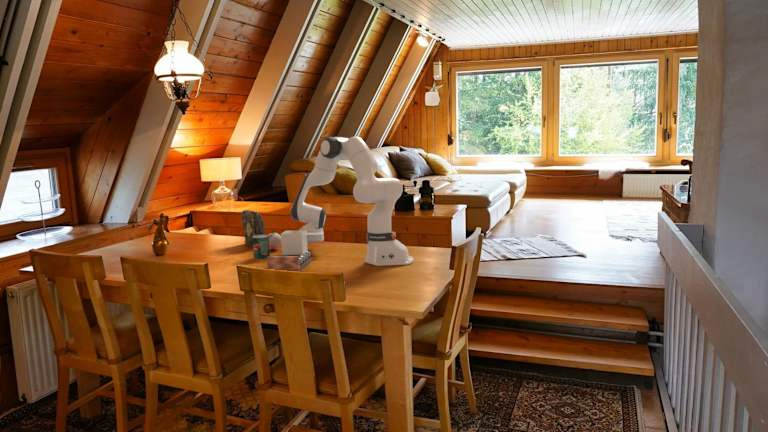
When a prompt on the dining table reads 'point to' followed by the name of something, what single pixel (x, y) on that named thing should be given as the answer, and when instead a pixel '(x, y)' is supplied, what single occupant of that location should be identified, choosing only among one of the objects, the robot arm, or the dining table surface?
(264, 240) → the canned tomato
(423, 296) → the dining table surface
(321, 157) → the robot arm
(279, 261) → the roller bed
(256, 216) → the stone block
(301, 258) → the rollers
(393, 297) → the dining table surface
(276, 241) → the decorative fruit
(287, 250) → the pale grey cube
